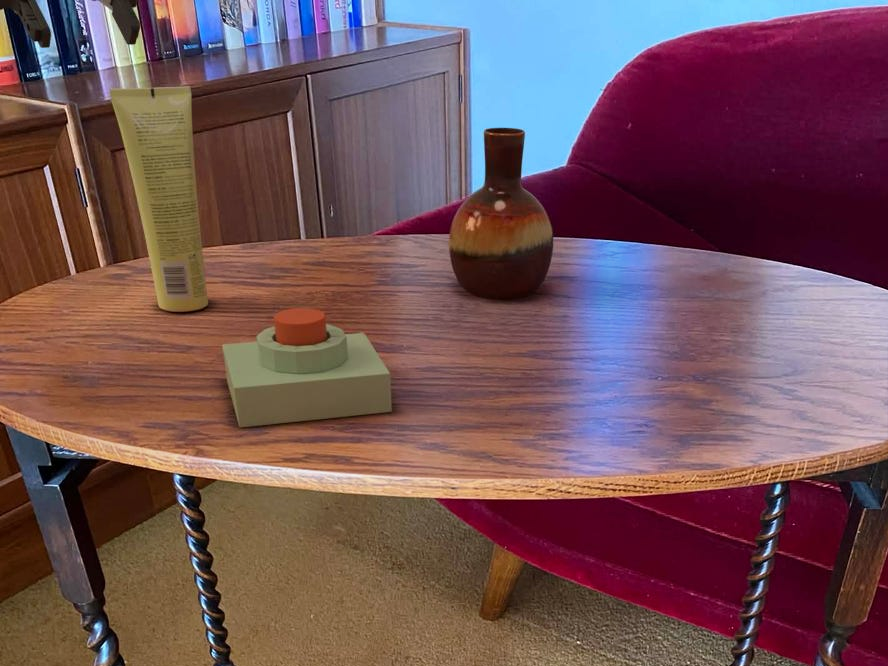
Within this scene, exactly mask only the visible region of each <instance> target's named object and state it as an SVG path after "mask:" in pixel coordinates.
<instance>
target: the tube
mask: <svg viewBox="0 0 888 666" xmlns="http://www.w3.org/2000/svg"><path fill="white" fill-rule="evenodd" d="M192 95H193V94H192V89H191V86H190V85H185V86H167V87H138V88H136V87H135V88H134V87H133V88H131V87H130V88H109V97H110V101H111V104H112V107H113V110H114V112H115V116H116V120H117V123H118V127H119V131H120V134H121V139H122V142H123V146H124V150H125V154H126V159H127V162H128V167H129V171H130V175H131V179H132V184H133V186H134V193H135V196H136V200H137V206H138V210H139V214H140V215H139V216H140V220H141V224H142V228H143V233H144V238H145V243H146V248H147V253H148V259H149V264H150V269H151V274H152V279H153V285H154V288H155V289H154V290H155V294H156V300H157V304H158V307H159V308H160V309H162V310H164V311H166V312H175V313H176V312H177V313H184V312H194V311H198V310H202V309H204V308H205V307H207V306H208V305H209V296H208V289H207V280H206V272H205V262H204V254H203V245H202V244H203V243H202V234H201V223H200V215H199V214H200V213H199V202H198V201H199V200H198V190H197V179H196V166H195V151H194V150H195V149H194V133H193V114H192V113H193V111H192V109H193V108H192V107H193V106H192V104H193V103H192V102H193V101H192Z"/></svg>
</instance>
